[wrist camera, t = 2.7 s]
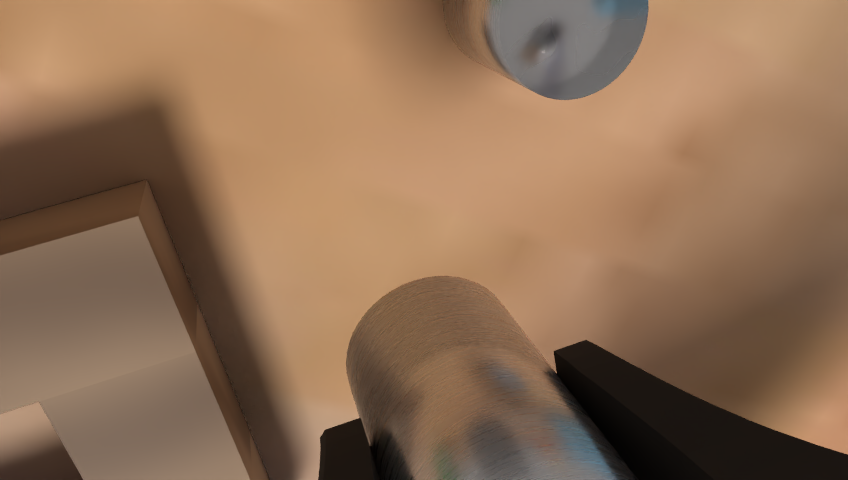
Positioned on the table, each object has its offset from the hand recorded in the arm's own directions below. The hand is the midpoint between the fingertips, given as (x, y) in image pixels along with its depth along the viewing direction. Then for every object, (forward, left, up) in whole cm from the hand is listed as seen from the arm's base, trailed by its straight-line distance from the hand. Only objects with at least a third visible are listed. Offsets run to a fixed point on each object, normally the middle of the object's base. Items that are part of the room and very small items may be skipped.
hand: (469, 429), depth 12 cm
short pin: (+5, -5, -9) cm, 11 cm away
